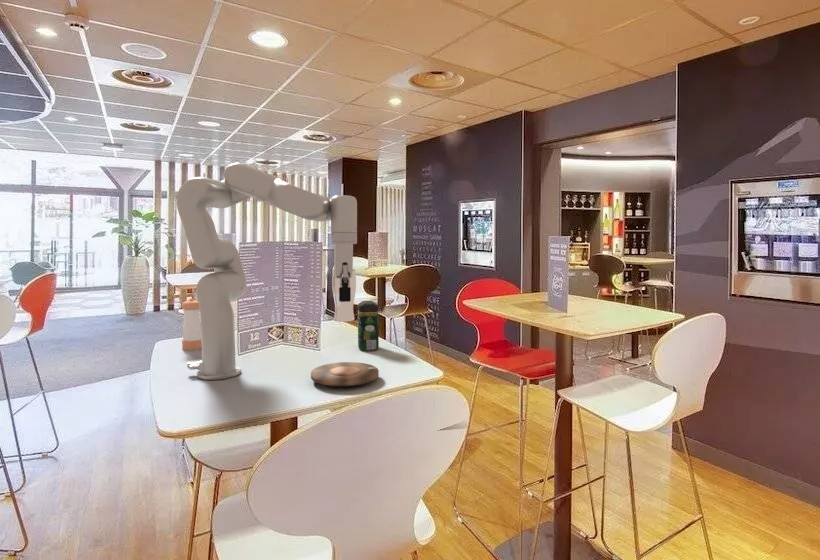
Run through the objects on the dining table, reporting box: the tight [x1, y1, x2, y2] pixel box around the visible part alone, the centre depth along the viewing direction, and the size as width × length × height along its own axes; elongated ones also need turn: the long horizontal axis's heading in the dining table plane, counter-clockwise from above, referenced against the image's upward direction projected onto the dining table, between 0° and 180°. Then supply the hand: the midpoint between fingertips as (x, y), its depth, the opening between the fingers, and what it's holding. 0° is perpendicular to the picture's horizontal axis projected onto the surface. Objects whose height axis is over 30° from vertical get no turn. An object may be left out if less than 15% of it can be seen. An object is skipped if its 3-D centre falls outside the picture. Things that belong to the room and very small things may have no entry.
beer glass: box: [331, 268, 357, 323], centre depth 133 cm, size 7×7×15 cm
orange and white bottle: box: [180, 298, 202, 351], centre depth 172 cm, size 7×7×19 cm
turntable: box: [310, 361, 380, 386], centre depth 135 cm, size 20×20×2 cm
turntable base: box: [322, 383, 367, 389], centre depth 135 cm, size 14×14×2 cm
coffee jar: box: [357, 300, 380, 352], centre depth 173 cm, size 10×8×19 cm
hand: (344, 299), depth 133 cm, fingers closed on beer glass, 6 cm apart
